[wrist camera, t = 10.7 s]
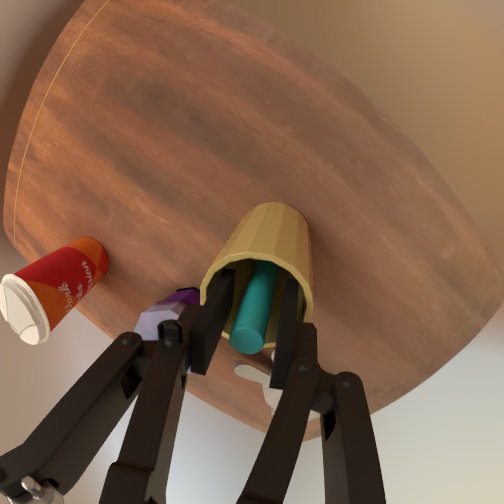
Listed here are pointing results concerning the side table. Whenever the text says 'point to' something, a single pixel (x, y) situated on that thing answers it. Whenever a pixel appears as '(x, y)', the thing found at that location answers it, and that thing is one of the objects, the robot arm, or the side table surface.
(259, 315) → the teal cylinder rod
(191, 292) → the potion bottle
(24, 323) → the paper cup
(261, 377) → the bunny figurine
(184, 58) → the side table surface
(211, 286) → the can
